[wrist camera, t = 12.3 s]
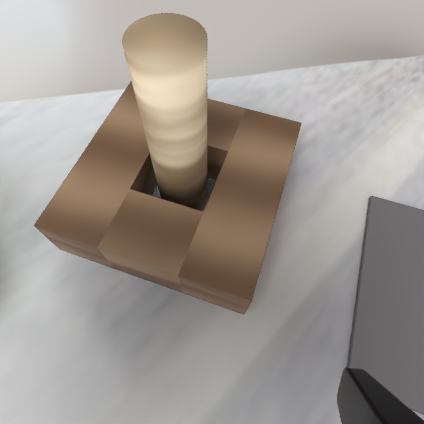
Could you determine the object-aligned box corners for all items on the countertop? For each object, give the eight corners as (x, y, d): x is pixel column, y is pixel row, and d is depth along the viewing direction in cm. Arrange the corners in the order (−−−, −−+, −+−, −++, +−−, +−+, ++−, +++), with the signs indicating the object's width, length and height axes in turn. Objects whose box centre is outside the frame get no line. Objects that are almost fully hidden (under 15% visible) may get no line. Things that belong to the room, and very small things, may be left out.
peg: (214, 209, 25) (220, 53, 13) (170, 225, 24) (136, 75, 12) (197, 174, 27) (189, 6, 15) (155, 188, 26) (112, 23, 14)
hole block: (244, 314, 21) (251, 300, 18) (59, 249, 23) (33, 225, 20) (289, 156, 28) (301, 123, 24) (141, 115, 30) (132, 79, 26)
